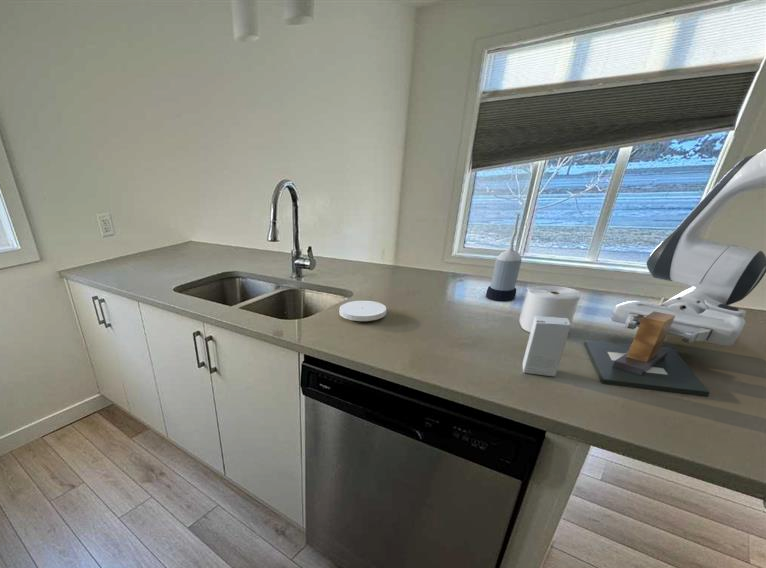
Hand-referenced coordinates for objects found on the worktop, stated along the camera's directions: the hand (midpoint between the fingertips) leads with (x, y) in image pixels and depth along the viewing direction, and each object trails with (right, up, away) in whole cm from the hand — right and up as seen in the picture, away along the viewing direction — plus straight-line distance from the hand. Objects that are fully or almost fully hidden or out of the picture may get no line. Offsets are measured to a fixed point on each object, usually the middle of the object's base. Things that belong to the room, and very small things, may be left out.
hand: (657, 331), depth 84 cm
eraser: (-1, -6, +3) cm, 7 cm away
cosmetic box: (-22, -8, +5) cm, 24 cm away
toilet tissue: (-8, +4, +24) cm, 25 cm away
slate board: (-1, -7, +3) cm, 8 cm away
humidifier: (-5, +17, +45) cm, 49 cm away
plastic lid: (-51, +10, +41) cm, 66 cm away
